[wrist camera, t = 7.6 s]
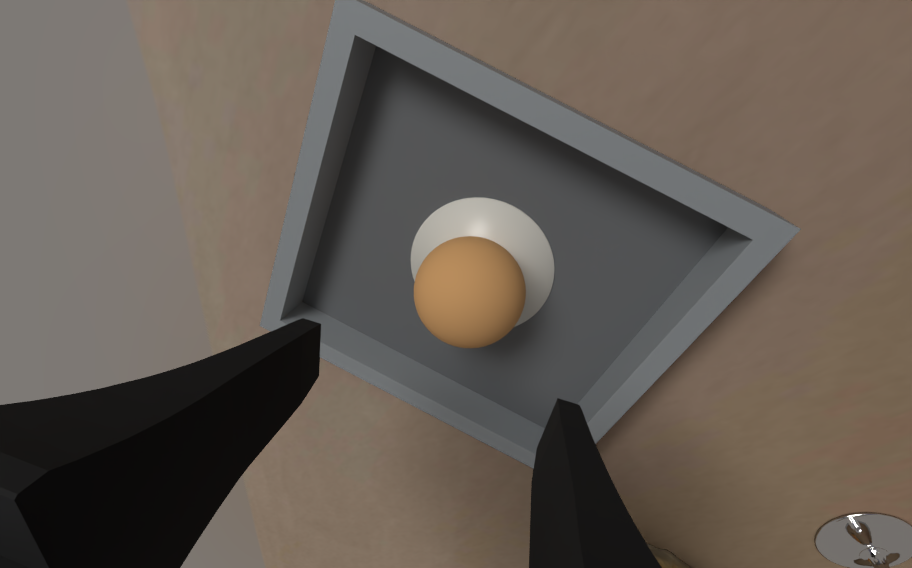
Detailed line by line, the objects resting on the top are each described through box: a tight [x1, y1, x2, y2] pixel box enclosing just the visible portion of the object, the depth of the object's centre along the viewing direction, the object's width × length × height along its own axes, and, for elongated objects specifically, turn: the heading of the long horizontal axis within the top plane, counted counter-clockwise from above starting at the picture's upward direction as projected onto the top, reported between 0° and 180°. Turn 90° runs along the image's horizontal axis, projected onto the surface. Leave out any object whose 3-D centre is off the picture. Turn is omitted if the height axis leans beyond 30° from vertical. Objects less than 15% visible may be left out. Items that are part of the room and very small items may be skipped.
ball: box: [414, 236, 526, 348], centre depth 18 cm, size 5×5×5 cm
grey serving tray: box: [260, 0, 801, 469], centre depth 19 cm, size 18×16×2 cm
